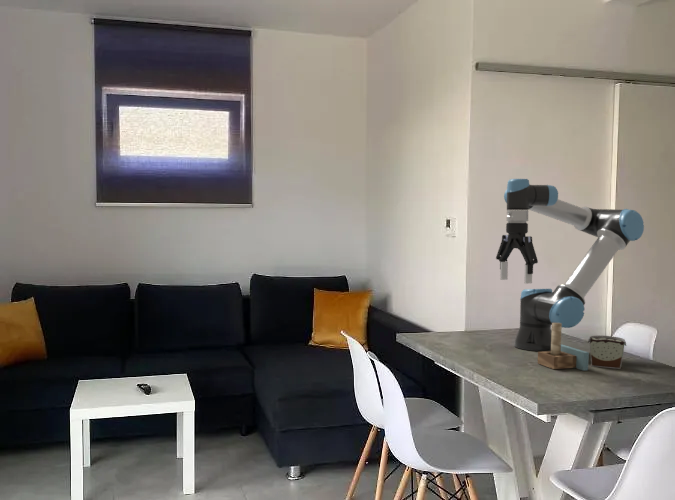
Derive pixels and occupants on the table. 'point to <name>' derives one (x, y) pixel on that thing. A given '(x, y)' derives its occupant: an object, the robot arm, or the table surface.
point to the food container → (606, 351)
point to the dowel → (556, 339)
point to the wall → (581, 356)
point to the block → (557, 360)
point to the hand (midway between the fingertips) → (515, 281)
